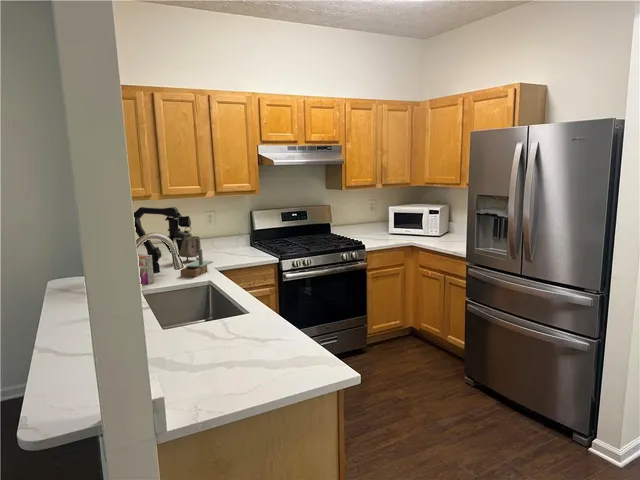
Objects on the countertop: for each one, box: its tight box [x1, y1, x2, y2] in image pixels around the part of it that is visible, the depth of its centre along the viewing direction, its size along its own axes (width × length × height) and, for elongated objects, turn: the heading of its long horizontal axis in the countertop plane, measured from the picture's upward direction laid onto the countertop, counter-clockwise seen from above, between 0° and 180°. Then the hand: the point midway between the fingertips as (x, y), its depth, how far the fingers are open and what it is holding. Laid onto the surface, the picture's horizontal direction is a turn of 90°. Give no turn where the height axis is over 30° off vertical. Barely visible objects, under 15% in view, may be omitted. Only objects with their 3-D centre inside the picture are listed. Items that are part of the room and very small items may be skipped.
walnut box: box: [179, 265, 208, 278], centre depth 267 cm, size 14×10×4 cm
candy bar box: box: [137, 253, 155, 285], centre depth 249 cm, size 11×5×16 cm, turn 65°
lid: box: [185, 249, 214, 267], centre depth 273 cm, size 14×10×10 cm
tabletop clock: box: [177, 226, 201, 264], centre depth 305 cm, size 14×9×25 cm, turn 158°
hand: (175, 251), depth 274 cm, fingers open, 9 cm apart
